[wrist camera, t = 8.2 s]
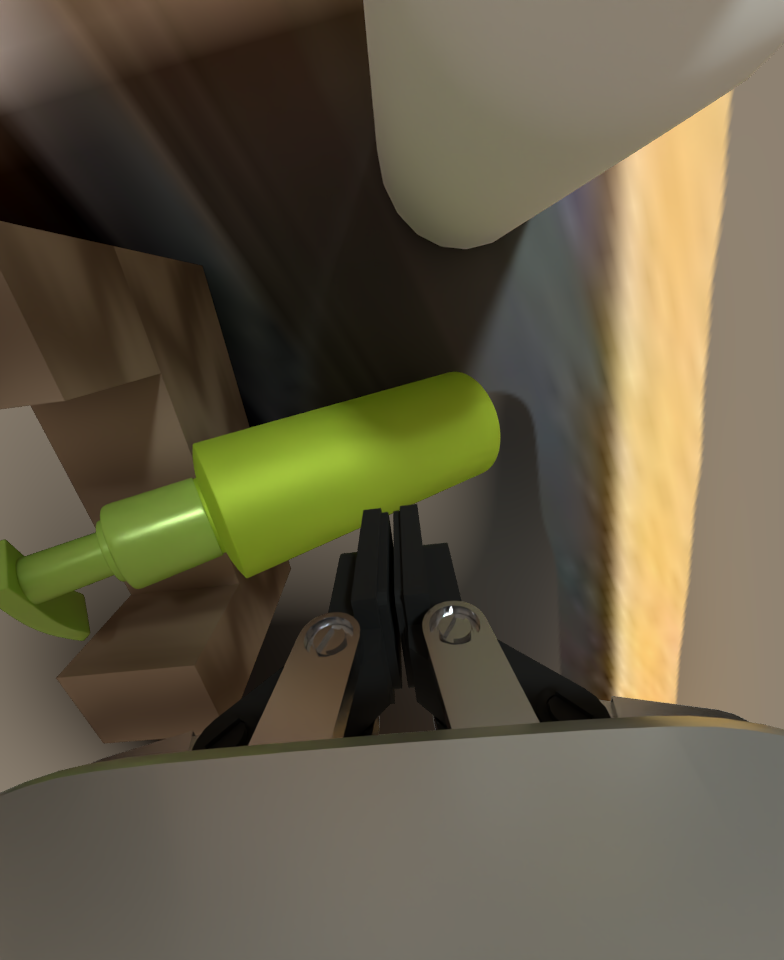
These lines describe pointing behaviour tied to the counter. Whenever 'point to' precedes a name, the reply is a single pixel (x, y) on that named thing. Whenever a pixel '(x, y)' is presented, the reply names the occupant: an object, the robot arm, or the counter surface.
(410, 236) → the counter surface
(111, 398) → the bottle rest
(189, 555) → the soap dispenser
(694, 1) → the potion bottle
